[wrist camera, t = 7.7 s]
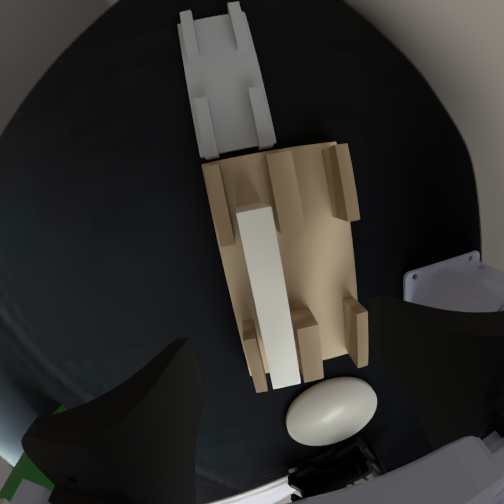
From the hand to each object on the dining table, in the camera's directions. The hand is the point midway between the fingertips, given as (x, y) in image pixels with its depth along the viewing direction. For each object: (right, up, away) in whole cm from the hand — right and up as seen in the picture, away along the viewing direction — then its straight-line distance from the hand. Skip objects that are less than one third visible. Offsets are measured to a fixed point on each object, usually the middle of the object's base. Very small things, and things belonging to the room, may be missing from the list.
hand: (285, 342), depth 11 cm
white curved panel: (-1, +2, +9) cm, 9 cm away
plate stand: (-3, +15, +6) cm, 17 cm away
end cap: (+8, -21, +15) cm, 28 cm away
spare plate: (+6, -12, +13) cm, 19 cm away
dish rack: (+1, +2, +9) cm, 10 cm away
